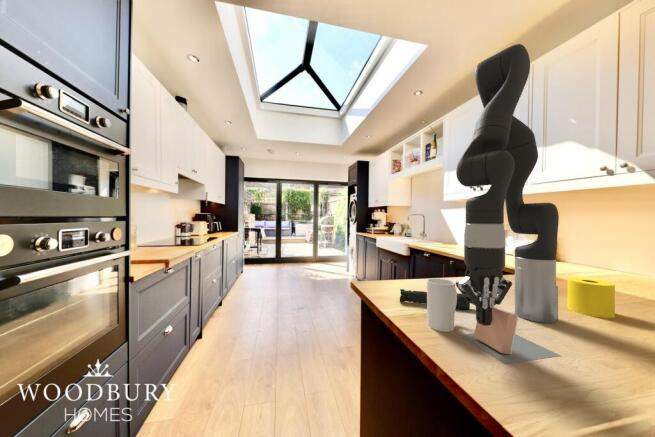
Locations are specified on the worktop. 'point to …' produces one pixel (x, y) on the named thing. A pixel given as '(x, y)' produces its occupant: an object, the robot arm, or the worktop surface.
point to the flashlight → (422, 298)
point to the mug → (441, 304)
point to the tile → (498, 331)
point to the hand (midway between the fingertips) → (483, 324)
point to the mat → (514, 350)
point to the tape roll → (591, 297)
